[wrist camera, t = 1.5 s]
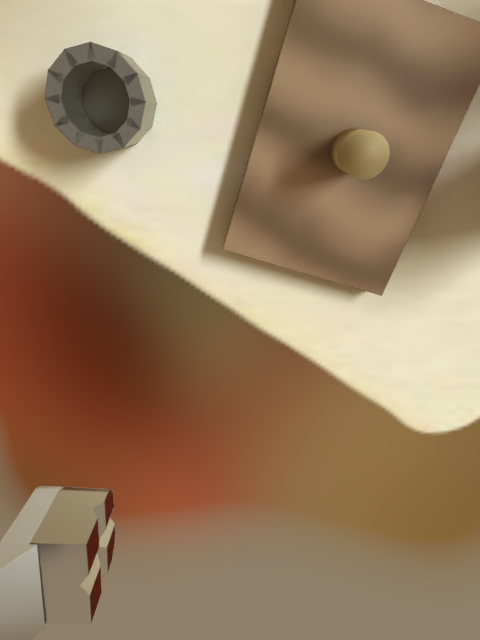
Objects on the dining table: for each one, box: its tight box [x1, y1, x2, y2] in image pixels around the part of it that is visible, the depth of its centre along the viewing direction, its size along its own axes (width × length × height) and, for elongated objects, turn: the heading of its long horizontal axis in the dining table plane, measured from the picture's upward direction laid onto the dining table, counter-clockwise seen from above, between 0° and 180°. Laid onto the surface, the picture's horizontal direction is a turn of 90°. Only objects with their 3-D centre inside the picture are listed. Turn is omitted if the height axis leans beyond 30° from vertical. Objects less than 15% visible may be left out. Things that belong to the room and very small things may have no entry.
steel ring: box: [45, 42, 157, 154], centre depth 32 cm, size 6×6×4 cm
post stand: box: [223, 0, 480, 296], centre depth 33 cm, size 20×14×6 cm
